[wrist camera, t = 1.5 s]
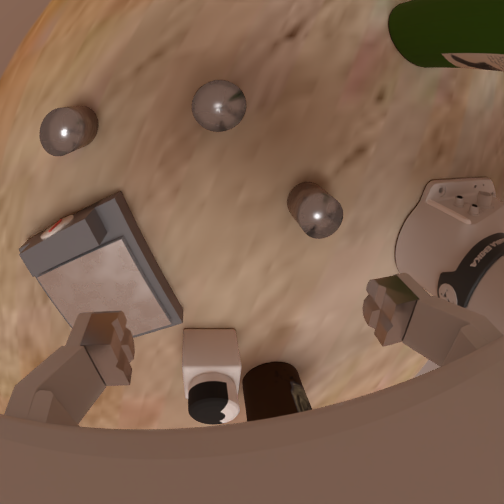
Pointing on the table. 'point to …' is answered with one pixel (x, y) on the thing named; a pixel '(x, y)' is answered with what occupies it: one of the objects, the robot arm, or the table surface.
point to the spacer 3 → (314, 210)
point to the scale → (92, 236)
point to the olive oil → (273, 392)
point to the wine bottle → (450, 33)
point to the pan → (106, 287)
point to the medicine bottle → (211, 374)
